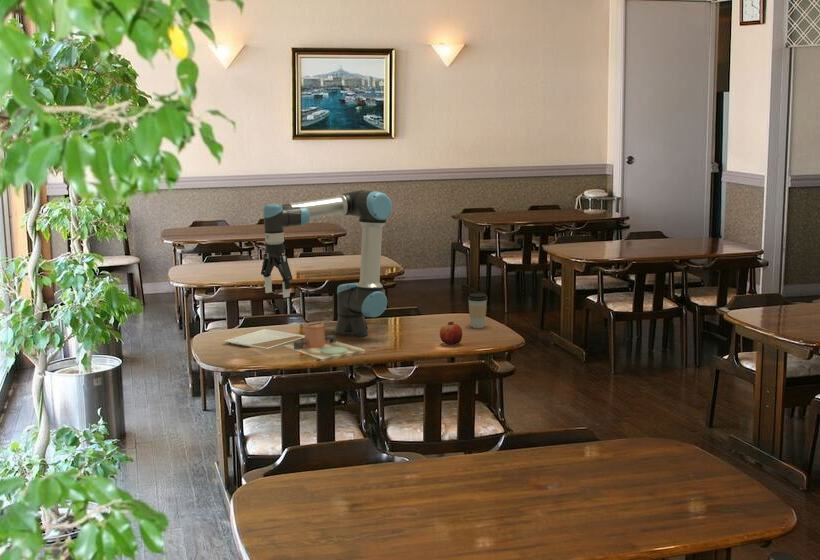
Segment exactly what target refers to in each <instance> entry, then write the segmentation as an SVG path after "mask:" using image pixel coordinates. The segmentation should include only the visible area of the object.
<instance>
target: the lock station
mask: <svg viewBox="0 0 820 560" xmlns="http://www.w3.org/2000/svg"><path fill="white" fill-rule="evenodd" d="M336 337H337V336H336V335H333V334H330V335H329V334H327V335H325V340H330V343H328V344H325V345H324V346H323V347H318V348H309V347H307V348H301V345H304V344H307V341H305V339H304V340H303V339H301V340H296V341H293V343H287V344H283V345H282V347H283V348H284V347H285V348H287V349H289V350H293V351H296V352H298V353H302V354H305V355H308V356H310V357H313V358H316V361H317V362H320V363H323V362H328V361H333V360H337V359H344V358H347V357H352V356H355V355H361V354H365V353H366V351H367V350H366V349H363V348H361V347H358V346H354V345H351V344H348V343H344V342H342V341H339V340H337V338H336ZM326 347H344V348H347V352H346V353H343V354H335V355H329V354H323V353H321V349H323V348H326Z"/></svg>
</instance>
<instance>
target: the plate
mask: <svg viewBox="0 0 820 560" xmlns="http://www.w3.org/2000/svg"><path fill="white" fill-rule="evenodd" d="M293 337H298V338H294V339H292V340H288V341H285V342H281V343H278V344H275V345H272V346H268V347H265V346H259V345H255V344H261V343H266V342H271V341H272V342H273V341H277V340H282V339H287V338H293ZM303 339H305V334H299V333H292V332H286V331H280V330H275V329H274V330H273V329H267V328H263V329H260V330H257V331H254V332H253V331H252V332H250V333H246V334H243V335H240V336H239V335H238V336H235V337H231V338H229V339H225V340H223V343H227V344H230V343H231V345H235V344H236V346H240V345H241V346H242V347H246V346H247V348H258V349H262V350H263V349H264V350H269V349H272V348H276V347H279V346H283V345H287V344H290V343H292V342H297V341H300V340H303ZM237 342H238V343H237ZM241 346H240V347H241Z"/></svg>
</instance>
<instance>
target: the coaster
mask: <svg viewBox="0 0 820 560" xmlns="http://www.w3.org/2000/svg"><path fill="white" fill-rule="evenodd" d="M346 352H347V348H344V347H326V348H323V349H321V353H323V354H329V355H335V354H343V353H346Z"/></svg>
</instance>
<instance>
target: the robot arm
mask: <svg viewBox="0 0 820 560" xmlns="http://www.w3.org/2000/svg"><path fill="white" fill-rule="evenodd" d="M392 211H393V203H392V200H391V198H390V197H389V196H388V195H387V194H386V193H384V192H381V191H376V190H365V189H362V190H361V189H359V190H354V191H350V192H345V193H344V192H343V193H338V194H337V195H336V196H333V197H326V198H319V199H312V200H305V201H297V202H290V203H283V204H281V203H269V204H266V205H264V206H263V215H262V216H263V227H264V228H263V229H264V242H265V244H264V246H265V253H263V262H262V268H261V270H260V274H261V275H262V276H263V277H264V290H265V294H269V293H273V284H272V283H273V282H272V275H271V274H272V271H273V269H274V267H275V268H276V269H277V270H278V272H279V273H280V276H281V278H282V280H281V282H282V283H281V285H282V298H284V299H285V298H289V297H291V295H290V293H291V292H290V290H291V289H290V288H291V287H290V281H293V274H292V271H291V269H290V265H289V261H288V256H287V255H284V256H283V253H284V252H285V243H284V242H285V234H284V232H285V231H284V228H287V227H295V226H301V227H302V226H304V225H307V224H308V223H309V222H310V219H314V218H315V219H316V218H321V217H328V216H335V215H339V216H340V217H346V216H352V217H353V216H354V217H359V218H358V221H359V222H358V223H359V224H360V225H361V227H362V228H361V229H362V230H361V231H362V232H361V248H360V249H361V250H360V251H361V252H360V268H359V269H360V270H359V271H360V273H359V282H351V283H343V284H339V285H338V286H337V289H336V290H337V291H336V295H337V297H336V299H337V320H336V324H335V328H334V334H335V335H338V336H344V337H345V336H348V337H349V336H350V337H351V336H352V337H355V338H363V337H366V336H368V335H369V327H368V325H367V322H366V318H377V317H379V316H381V315H382V314H383V313H384V312H385V311H386V309H387V306H388V299H387V296H386V294H385V293H384V291H383V290H384V286H383V284H382V283H381V281H380V280H381V279H380V278H381V259H382V258H381V257H382V242H383V227H384V226H385V225H386V224H387V219H388V218H389V217H390V215H391V214H392ZM365 317H366V318H365Z"/></svg>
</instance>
